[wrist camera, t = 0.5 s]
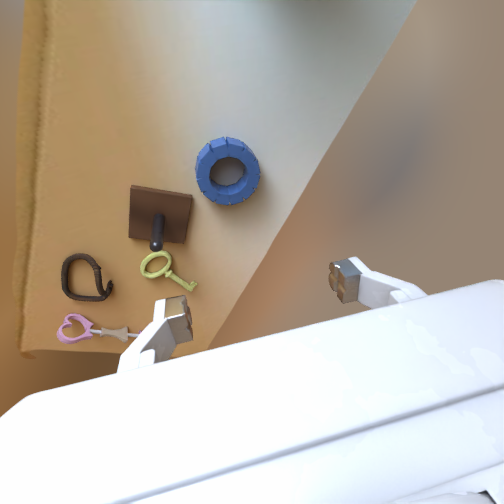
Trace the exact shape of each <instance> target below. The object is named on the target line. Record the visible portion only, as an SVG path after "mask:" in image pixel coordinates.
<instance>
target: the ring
mask: <svg viewBox="0 0 504 504" xmlns="http://www.w3.org/2000/svg"><path fill="white" fill-rule="evenodd" d="M210 142H211V145H210V144H209V143H207V144H206V145H205V147H204V148H203V149H202V150H201V151H200V152H199V156H197V162H196V168H195V170H196V179H197V182H198V185H199V187H200V190H201V192H203V195H205V196H206V197H207V198H209V199H210V200H211V201H212V202H214V201H215V202H216V203H217V204H223V205H229V202H230V203H231V205H233V204H236V203H240V202H243V198H244V199H247V198H248V197H249V196H250V195H251V194H252V193H253V192H254V191H255V190H254V188H257V185H258V182H259V179H260V175H259V174H260V169H259V165H258V161H257V159H256V157H255V155H254V154H253V152H252V150H251V149H250V148H249V147H248V146H247V145H246V144H245V143H244V142H241V141H240V140H238V139H234V138H229V137H226V141H225V139H224V137H222V138H218V139H215V140H212V141H210ZM228 156H229V157H233V158H238V159H239V160H240V161H242V162H243V163H244V166H245V169H244V173H243V176H242V178H241V179H240V180H239V181H238V182H237V183H235V184H232V185H229V186H223V185H218V184H217V183H215V182H214V181H213V180H212V179H211V178H210V176H209V175H210V170H211V167H212V166H213V165H214V164H215V163H216V161H217V160H219V159H222V158H225V157H228Z"/></svg>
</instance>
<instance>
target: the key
mask: <svg viewBox="0 0 504 504" xmlns="http://www.w3.org/2000/svg"><path fill="white" fill-rule="evenodd" d="M158 256H165V257H166V258H167V259H168V263H167V265H166V266H165V267H164V268H162V269H161V270H160V271H158V272H155V273H149V272H147V271H146V270H145V267H146V265H147V263H148V262H149V261H150V260H151V259H153V258H155V257H158ZM171 263H172V257H171V255H170V254H169V253H168V252H166V251H160V252H154V253H152V254H150V255H148V256H147V257H146V258H145V259H144V260H143V261H142V263H141V267H140V270H141V273H142V275H143V276H145V277H146V278H157V277H159V276H161V275H162V274H165V277H166V278H167V277H170V278H171V279H172V280H174V281H175V282H177V283H178V284H180V285H181V286H182V287H184V288H185V289H187V290H188V291H190V292H191V291H192V290H193V288H194V287H195V286H196V285H197V284H198V283H196V284H195V281H193V282H192V283H190V284H188V283H186V282H185V281H184V280H182V279H181V278H179V277H178V276H177V275H175V274H174V273H172V270H171V269H170V270H168V269H169V267H170V266H171Z"/></svg>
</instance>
